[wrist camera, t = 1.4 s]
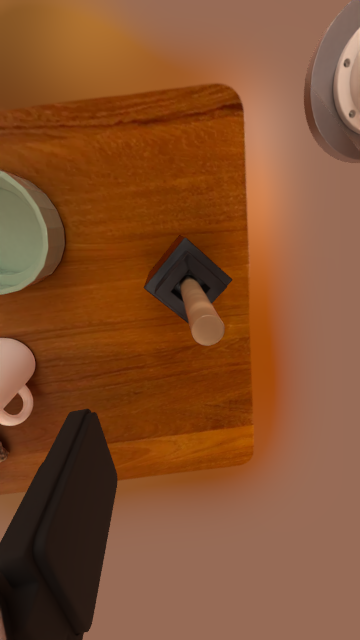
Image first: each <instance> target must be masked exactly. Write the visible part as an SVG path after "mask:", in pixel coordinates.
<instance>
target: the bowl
mask: <svg viewBox="0 0 360 640" xmlns="http://www.w3.org/2000/svg"><path fill="white" fill-rule="evenodd" d="M64 247H65V240H64V228H63V225H62V222H61V219H60V217H59V214H58V211H57V209H56V208H55V207H54V205H53V204H52V203H51V201H50V200H49V198H48V197H47V196H46V194H45V193H43V192H42V191H41V190H40V189H39V188H37V187H36V186H35V185H34V184H32V183H31V182H30V181H28V180H26V179H23V178H21V177H19V176H16V175H14V174H12V173H9V172H6V171H3V170H0V294H1V295H2V294H7V293H11V292H15V291H19V290H22V289H24V288H26V287H29V286H31V285H33V284H36V283H38V282H40V281H42V280H43V279H45V278H46V277H47V276H49V275H50V274H52V273H53V271H54V270H55V268H56V267H57V266H58V264H59V263H60V261H61V258H62V254H63V251H64Z"/></svg>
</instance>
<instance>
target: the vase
mask: <svg viewBox="0 0 360 640" xmlns="http://www.w3.org/2000/svg"><path fill="white" fill-rule="evenodd" d="M185 275H192V276H194V277H195V278H196V280H197V281H198V283H199V285H200V286H201V288H202V290H203V291H204V293H205V294H206V296H207V298H208V299H209V301H210V302H211V304H212V303H213V302H214V301H215V299H216V298H217V297H218V296H219V295H220V294H221V293H222V292H223V291H224V290H225V289H226V287H227V285H228V284H229V283H230V282H231V281H232V279H231V278H230V277H229V276H228V275H227V274H226V273H224V272H223V271H222V270H221V269H220V268H219V267H218V266H217V265H216V264H214V263H213V262H212V261H211V260H210V259H209V258H208V257H207V256H206V255H204V254H203V253H202V252H201V251H200V250H199V249H198V248H197V247H196V246H194V245H193V244H192V243H191V242H190V241H189V240H188V239H187V238H185V237H183V236H181V235H179V236H178V238H177V239H176V240H175V241H174V243H173V244H172V245H171V246H170V248H169V249H168V250H167V251H166V253H165V254H164V255H163V256H162V257H161V259H160V260H159V261H158V262H157V264H156V265H155V266H154V267H153V269H152V270H151V271H150V272H149V274H148V277H147V280H146V283H145V286H144V289H146V290H147V291H148V292H150V293H151V294H152V295H153V296H155V297H156V298H157V299H158V300H160V301H161V302H162V303H163V304H165V305H166V306H167V307H168V308H170V309H171V310H172V311H174V312H175V313H176V314H177V315H179V316H180V317H181V318H182V319H184V320H185V321H186V322H187V323H189V321H188V317H187V313H186V310H185V306H184V302H183V298H182V294H181V290H180V286H179V282H180V280H181V279H182V278H183V277H184V276H185Z"/></svg>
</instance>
